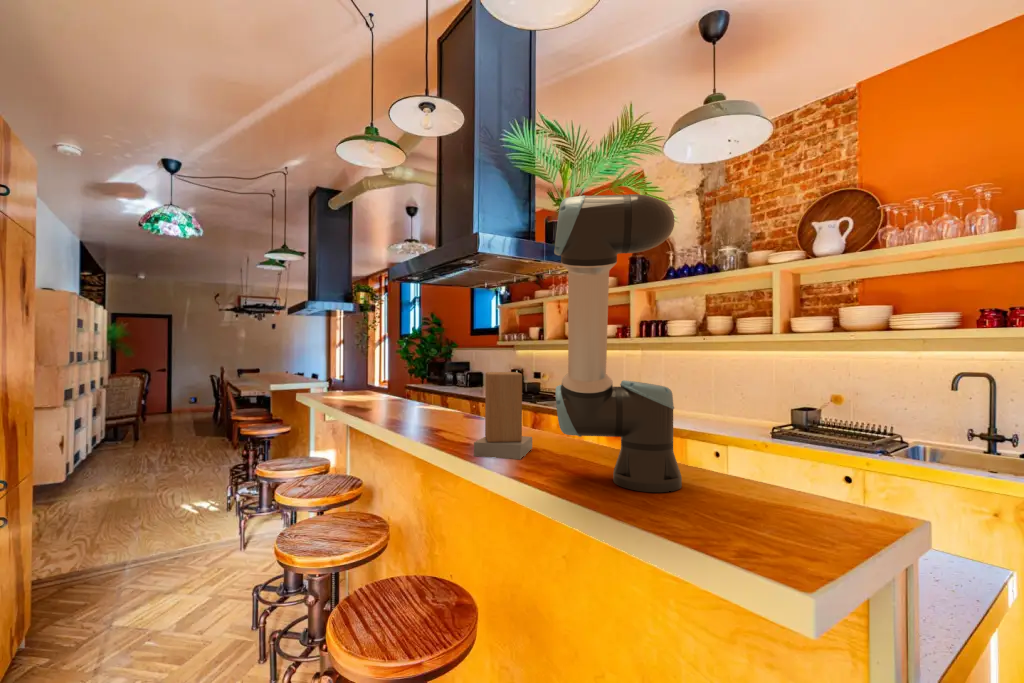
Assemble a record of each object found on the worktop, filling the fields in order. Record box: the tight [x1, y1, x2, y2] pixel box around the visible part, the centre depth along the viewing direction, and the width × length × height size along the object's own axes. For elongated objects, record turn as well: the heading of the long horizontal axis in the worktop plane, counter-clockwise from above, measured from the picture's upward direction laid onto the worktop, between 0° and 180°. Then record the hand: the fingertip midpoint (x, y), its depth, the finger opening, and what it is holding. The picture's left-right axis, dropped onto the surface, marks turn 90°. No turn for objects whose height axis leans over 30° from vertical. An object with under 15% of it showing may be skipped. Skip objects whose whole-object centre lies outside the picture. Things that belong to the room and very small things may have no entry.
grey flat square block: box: [473, 435, 533, 460], centre depth 140 cm, size 14×14×4 cm
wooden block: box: [484, 371, 523, 443], centre depth 140 cm, size 10×10×20 cm
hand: (584, 331), depth 142 cm, fingers open, 13 cm apart
